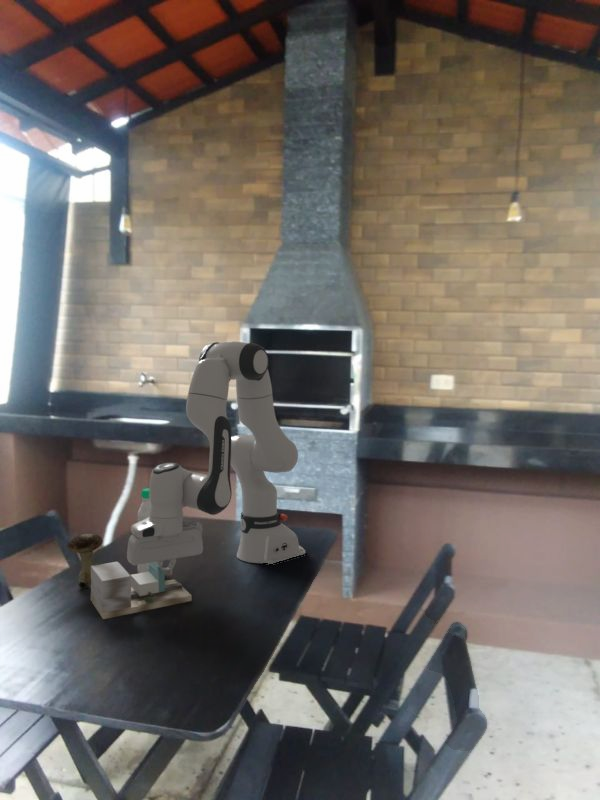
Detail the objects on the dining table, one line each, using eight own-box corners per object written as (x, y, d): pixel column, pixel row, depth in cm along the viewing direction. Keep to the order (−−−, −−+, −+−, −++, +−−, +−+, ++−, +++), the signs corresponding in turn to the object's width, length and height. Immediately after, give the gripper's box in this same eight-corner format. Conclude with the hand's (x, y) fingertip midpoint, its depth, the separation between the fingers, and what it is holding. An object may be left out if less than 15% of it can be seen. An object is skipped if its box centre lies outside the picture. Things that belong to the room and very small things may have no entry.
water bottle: (155, 577, 181) (155, 492, 179) (133, 575, 182) (132, 491, 180) (165, 569, 188) (165, 487, 186) (144, 566, 189) (143, 485, 187)
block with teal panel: (154, 581, 170) (154, 563, 170) (167, 594, 161) (167, 575, 161) (130, 585, 167) (130, 567, 166) (142, 599, 158) (142, 580, 158)
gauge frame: (174, 584, 176) (174, 551, 175) (191, 600, 165) (191, 565, 164) (90, 600, 164) (90, 565, 163) (103, 619, 153) (102, 581, 152)
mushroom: (108, 588, 172) (108, 535, 171) (78, 596, 166) (77, 541, 165) (93, 578, 179) (92, 527, 178) (63, 586, 173) (62, 533, 172)
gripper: (198, 516, 174) (197, 565, 176) (125, 526, 164) (125, 577, 165) (207, 522, 169) (206, 572, 170) (132, 533, 158) (132, 585, 159)
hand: (165, 575), depth 167 cm, fingers closed
